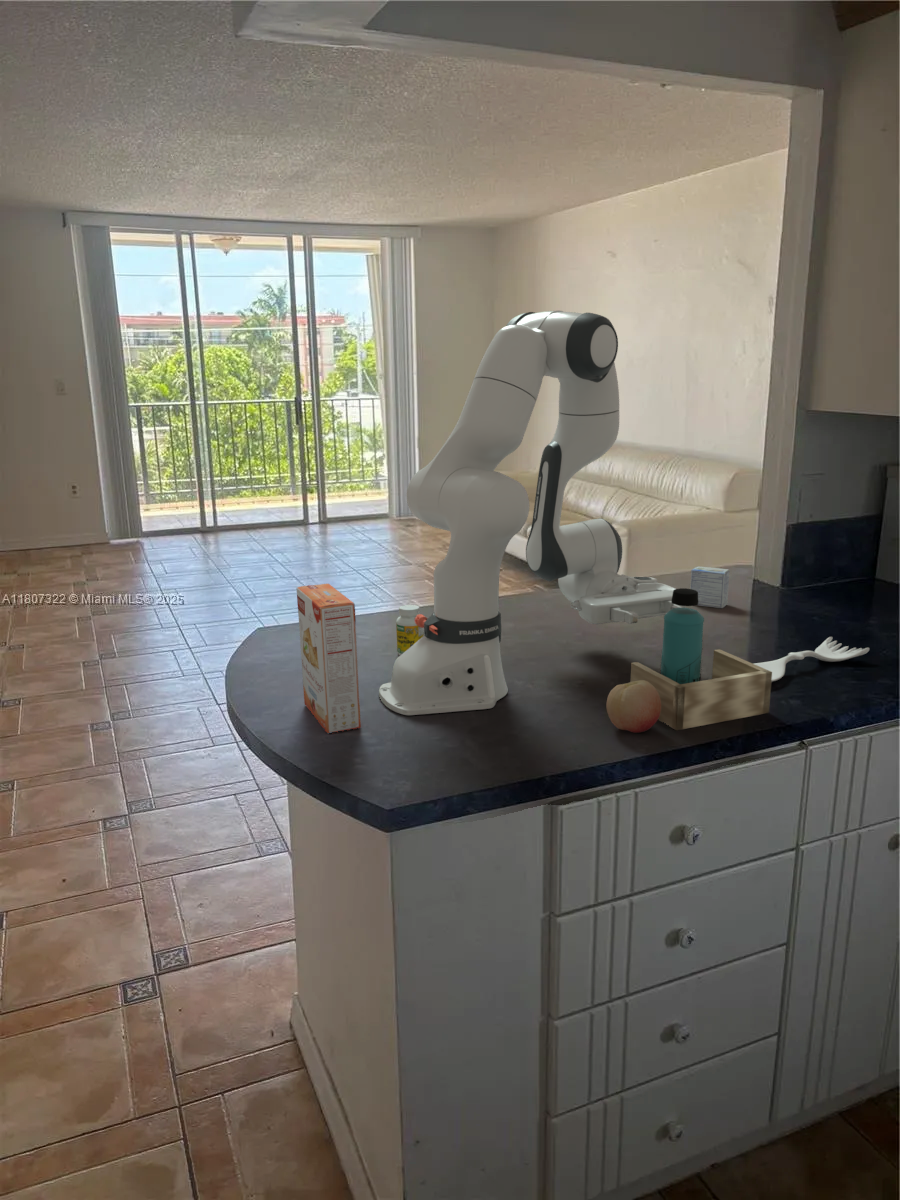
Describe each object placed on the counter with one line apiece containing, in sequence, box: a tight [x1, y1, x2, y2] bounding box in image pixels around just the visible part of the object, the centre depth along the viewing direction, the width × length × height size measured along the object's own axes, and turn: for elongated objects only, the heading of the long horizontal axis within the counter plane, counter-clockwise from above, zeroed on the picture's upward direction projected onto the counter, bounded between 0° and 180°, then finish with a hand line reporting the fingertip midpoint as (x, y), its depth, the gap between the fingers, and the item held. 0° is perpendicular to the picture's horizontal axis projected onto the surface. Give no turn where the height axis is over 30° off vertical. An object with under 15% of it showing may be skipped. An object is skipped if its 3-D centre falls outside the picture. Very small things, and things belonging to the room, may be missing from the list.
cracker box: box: [296, 583, 362, 734], centre depth 140 cm, size 14×6×21 cm, turn 24°
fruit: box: [605, 680, 661, 734], centre depth 135 cm, size 8×8×8 cm
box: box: [630, 649, 772, 731], centre depth 144 cm, size 18×13×7 cm
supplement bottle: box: [395, 604, 424, 656], centre depth 173 cm, size 5×5×10 cm
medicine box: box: [689, 566, 730, 609], centre depth 207 cm, size 8×4×9 cm, turn 58°
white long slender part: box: [753, 636, 870, 683], centre depth 162 cm, size 9×32×4 cm, turn 120°
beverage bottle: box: [659, 587, 705, 684], centre depth 141 cm, size 6×7×20 cm
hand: (657, 615), depth 153 cm, fingers open, 8 cm apart
